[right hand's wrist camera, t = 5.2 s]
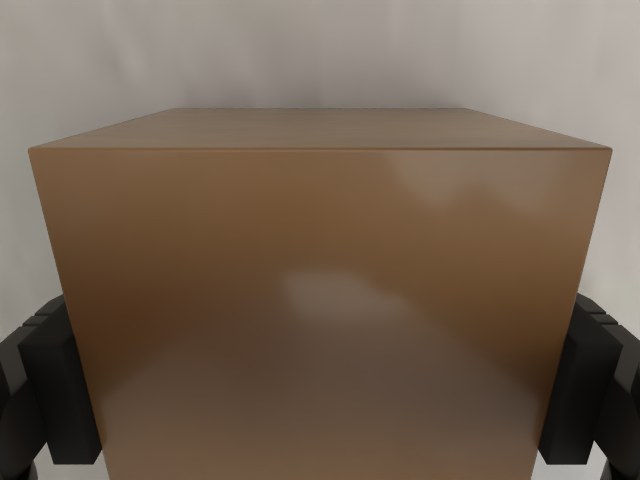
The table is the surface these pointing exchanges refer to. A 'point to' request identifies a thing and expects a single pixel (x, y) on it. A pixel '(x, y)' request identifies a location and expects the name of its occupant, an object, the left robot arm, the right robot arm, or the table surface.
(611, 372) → the right robot arm
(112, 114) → the table surface
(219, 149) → the wide beam
